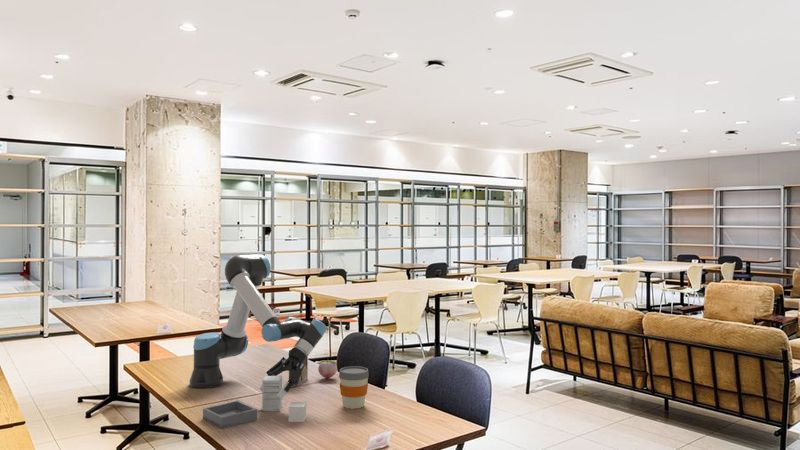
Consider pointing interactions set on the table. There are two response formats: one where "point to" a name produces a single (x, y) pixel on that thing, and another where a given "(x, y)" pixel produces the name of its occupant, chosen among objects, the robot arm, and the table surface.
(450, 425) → the table surface
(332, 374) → the decorative fruit
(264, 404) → the supplement box
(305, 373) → the coffee box
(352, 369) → the reusable coffee cup
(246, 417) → the tray
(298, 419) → the white cube
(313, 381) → the table surface
